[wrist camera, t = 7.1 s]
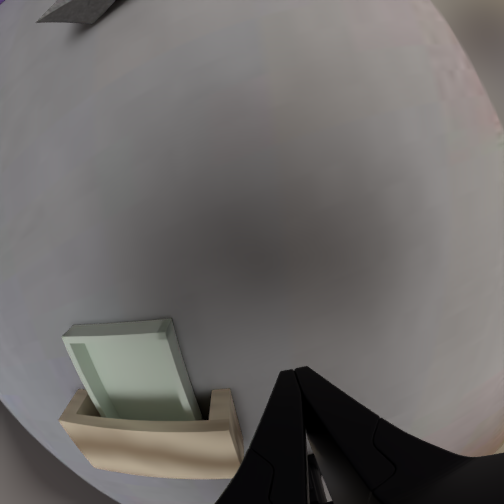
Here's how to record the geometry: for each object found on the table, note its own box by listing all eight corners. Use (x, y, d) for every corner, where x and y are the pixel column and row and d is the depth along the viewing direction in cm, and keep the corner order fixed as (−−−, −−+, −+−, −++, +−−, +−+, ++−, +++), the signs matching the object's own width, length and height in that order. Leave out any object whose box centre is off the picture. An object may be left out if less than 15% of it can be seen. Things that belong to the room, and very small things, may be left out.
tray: (207, 425, 23) (205, 444, 20) (123, 423, 23) (116, 440, 20) (172, 315, 20) (165, 332, 18) (75, 322, 20) (61, 336, 17)
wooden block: (243, 436, 23) (244, 477, 18) (108, 434, 23) (94, 467, 18) (229, 385, 22) (228, 430, 17) (79, 386, 21) (58, 420, 16)
